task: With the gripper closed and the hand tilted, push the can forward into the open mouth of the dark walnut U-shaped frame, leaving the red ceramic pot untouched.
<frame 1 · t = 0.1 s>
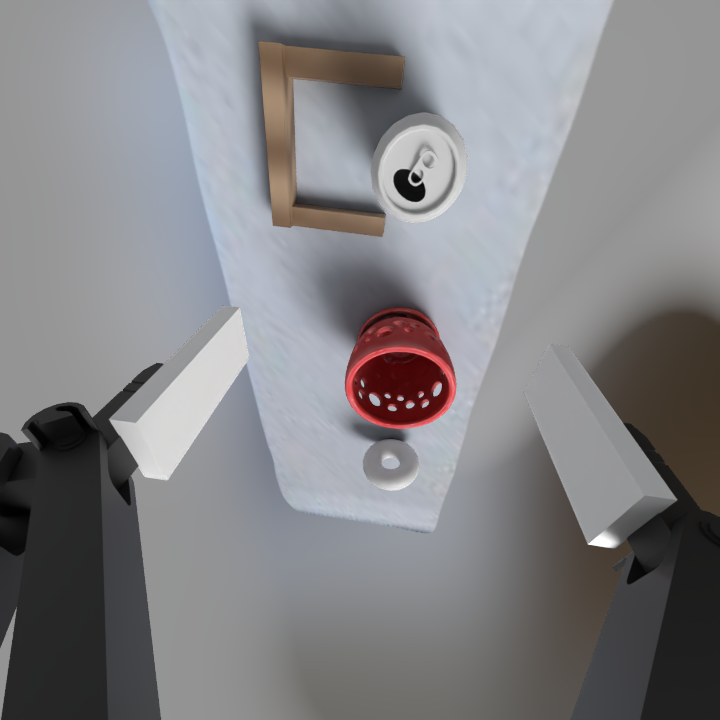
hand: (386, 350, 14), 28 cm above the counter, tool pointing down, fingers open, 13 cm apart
can: (416, 160, 33), on the counter
donut: (392, 440, 60), on the counter
walnut frame: (336, 151, 34), on the counter
plant pot: (401, 337, 46), on the counter
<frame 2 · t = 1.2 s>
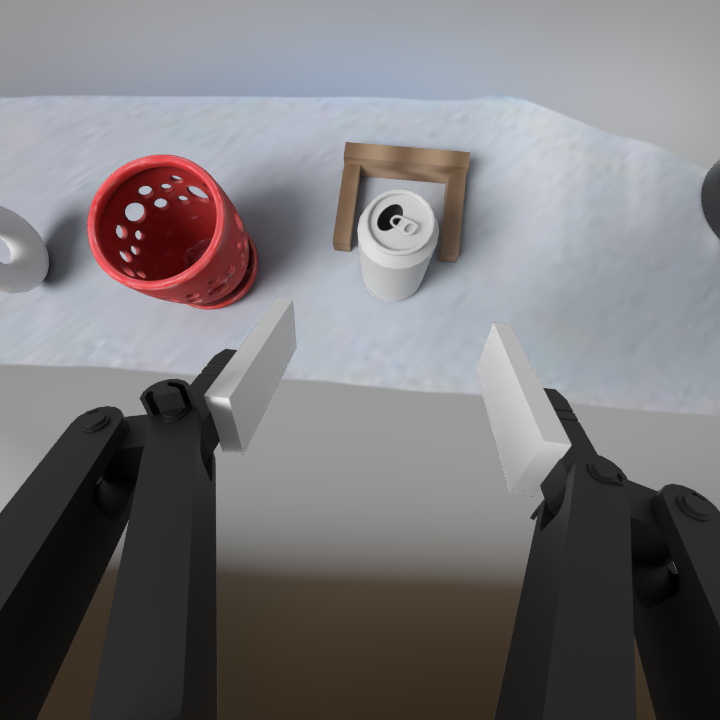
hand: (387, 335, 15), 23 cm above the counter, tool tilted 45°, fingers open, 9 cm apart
can: (391, 275, 39), on the counter
donut: (46, 268, 41), on the counter
walnut frame: (399, 211, 40), on the counter
plant pot: (218, 272, 40), on the counter
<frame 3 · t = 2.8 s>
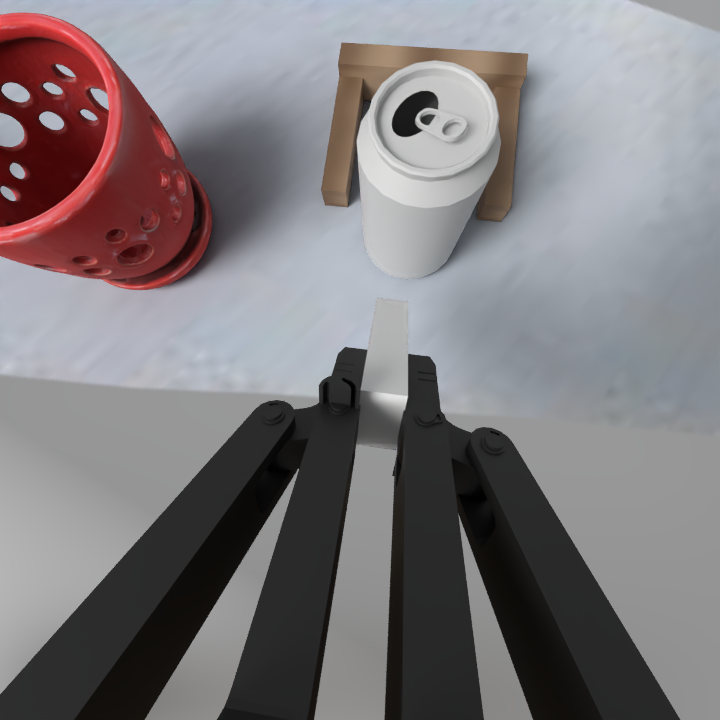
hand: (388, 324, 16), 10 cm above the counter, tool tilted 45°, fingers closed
can: (407, 241, 27), on the counter
walnut frame: (419, 149, 28), on the counter
plant pot: (158, 238, 28), on the counter
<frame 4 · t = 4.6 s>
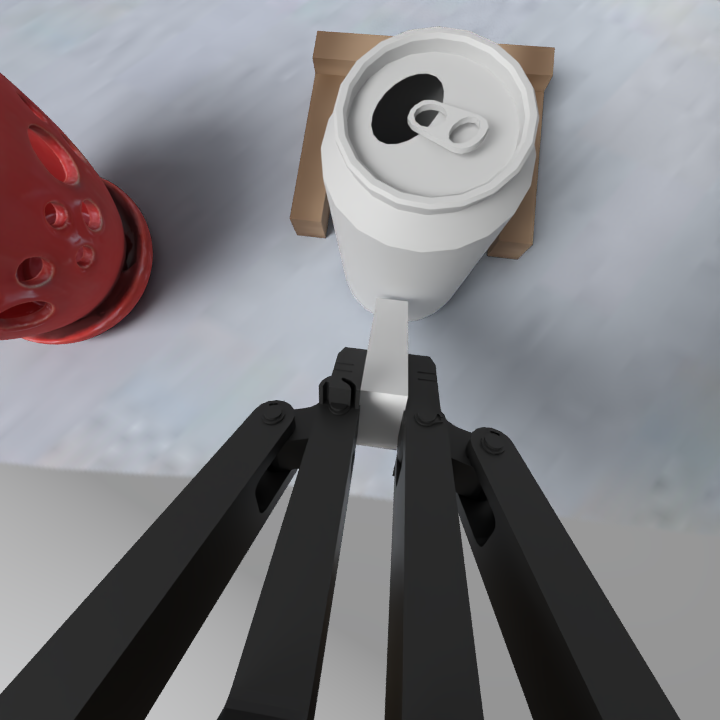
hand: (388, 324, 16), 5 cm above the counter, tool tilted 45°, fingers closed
can: (400, 272, 21), on the counter, touching gripper
walnut frame: (415, 166, 22), on the counter
plant pot: (88, 274, 22), on the counter
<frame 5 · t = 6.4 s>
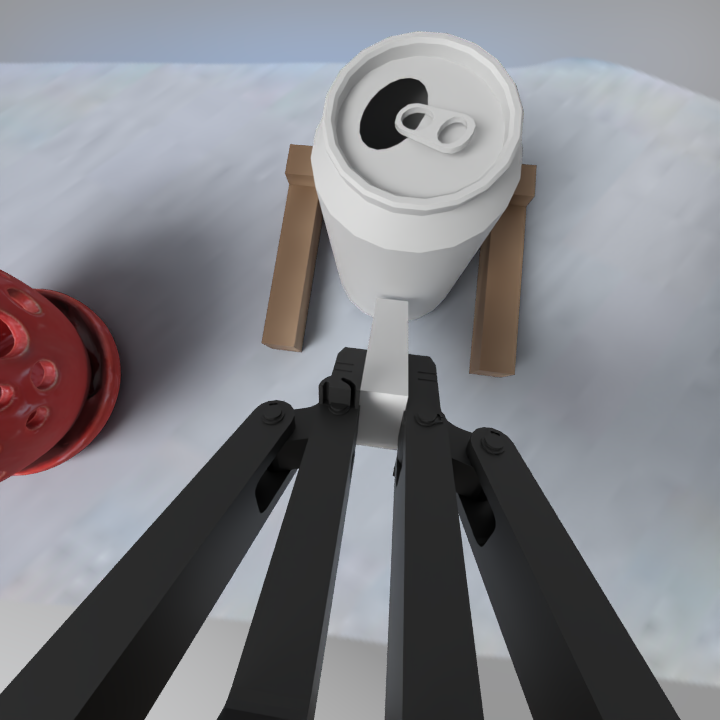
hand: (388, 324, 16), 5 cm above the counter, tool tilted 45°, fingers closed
can: (395, 273, 22), on the counter, touching gripper
walnut frame: (394, 275, 21), on the counter
plant pot: (55, 387, 22), on the counter
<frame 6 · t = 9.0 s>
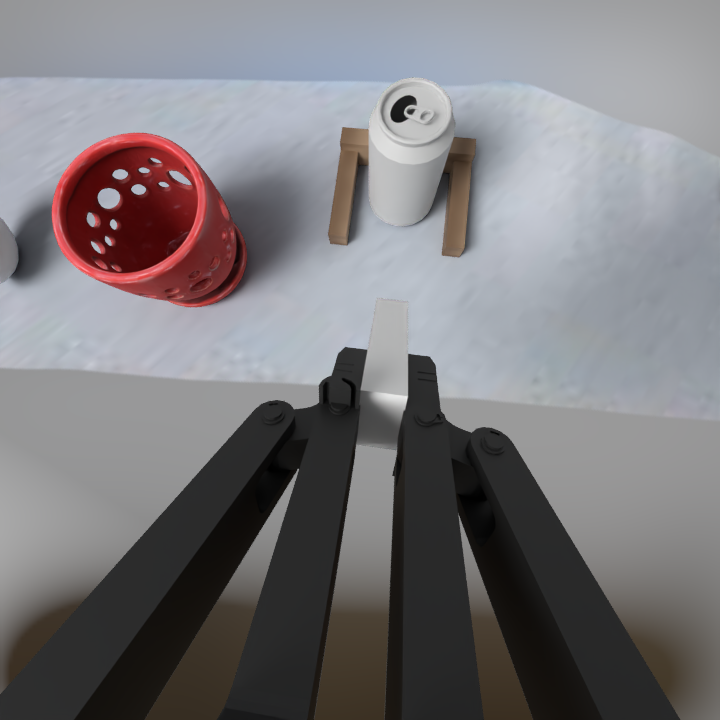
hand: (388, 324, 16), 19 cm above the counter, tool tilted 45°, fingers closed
can: (400, 202, 38), on the counter
donut: (15, 262, 38), on the counter
walnut frame: (399, 203, 37), on the counter
plant pot: (204, 267, 37), on the counter
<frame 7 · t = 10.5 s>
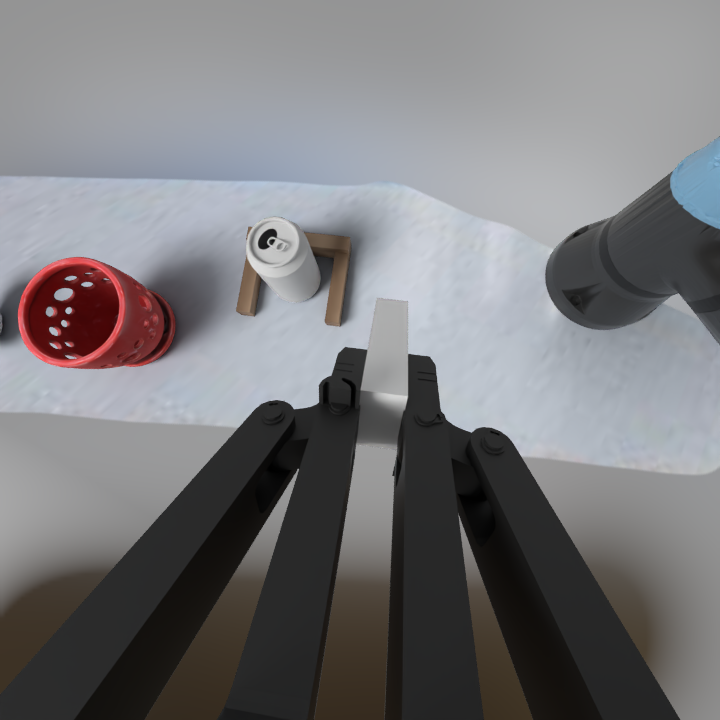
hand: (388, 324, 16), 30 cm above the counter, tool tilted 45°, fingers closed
can: (297, 281, 48), on the counter
donut: (0, 327, 49), on the counter
walnut frame: (296, 282, 48), on the counter
plant pot: (144, 332, 48), on the counter
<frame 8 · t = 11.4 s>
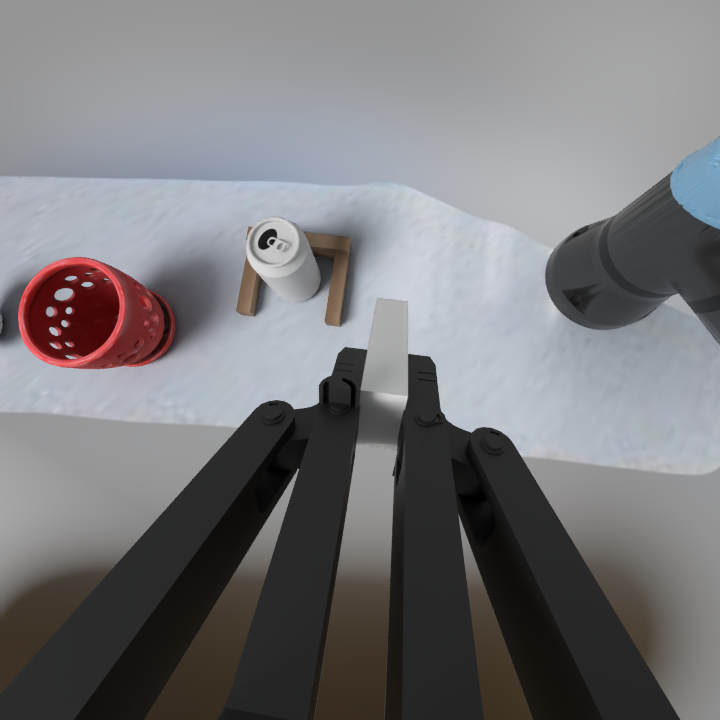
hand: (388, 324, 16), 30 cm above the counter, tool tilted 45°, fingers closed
can: (297, 281, 48), on the counter
donut: (1, 327, 49), on the counter
walnut frame: (296, 282, 48), on the counter
plant pot: (144, 332, 48), on the counter
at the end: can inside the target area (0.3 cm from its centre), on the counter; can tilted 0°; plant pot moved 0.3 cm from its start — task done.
